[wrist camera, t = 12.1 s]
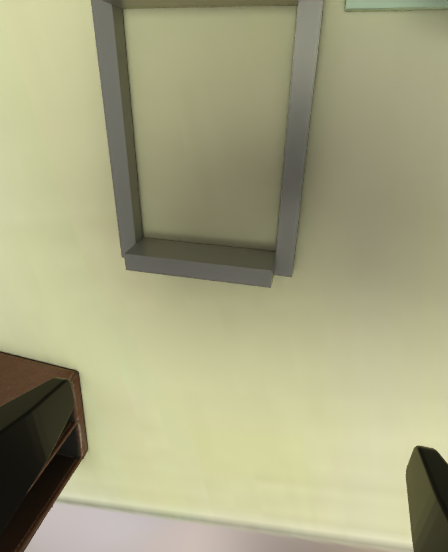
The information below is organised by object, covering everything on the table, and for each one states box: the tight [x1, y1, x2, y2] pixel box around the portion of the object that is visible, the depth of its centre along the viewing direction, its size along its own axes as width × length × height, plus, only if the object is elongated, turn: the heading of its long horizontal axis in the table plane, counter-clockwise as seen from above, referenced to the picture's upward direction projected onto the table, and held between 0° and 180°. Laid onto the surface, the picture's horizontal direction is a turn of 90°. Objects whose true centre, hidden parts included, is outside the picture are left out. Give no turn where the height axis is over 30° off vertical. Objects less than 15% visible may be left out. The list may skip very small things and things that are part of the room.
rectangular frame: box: [91, 0, 324, 288], centre depth 18 cm, size 10×14×2 cm
